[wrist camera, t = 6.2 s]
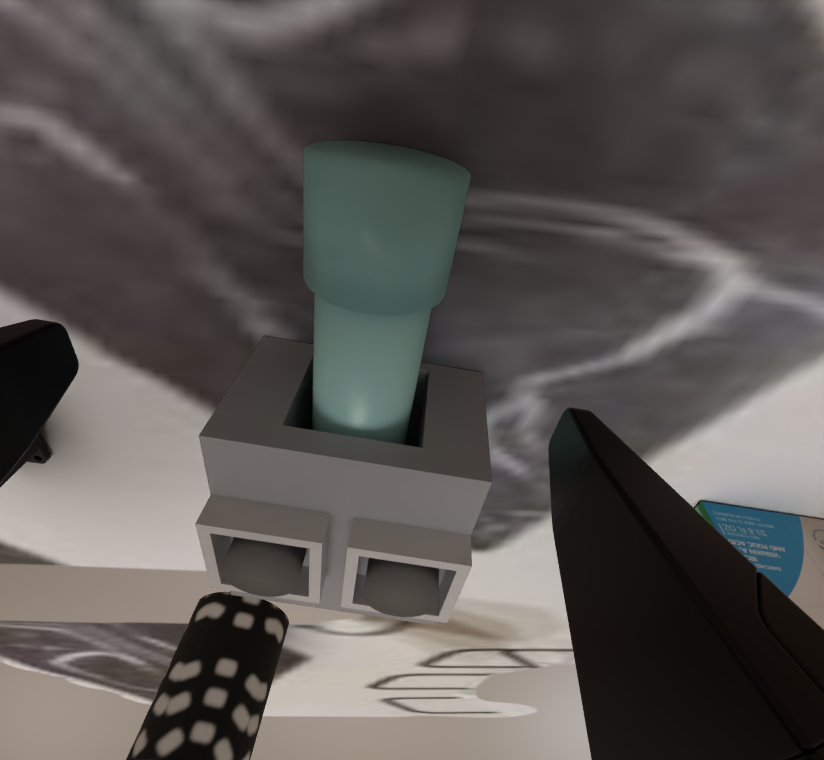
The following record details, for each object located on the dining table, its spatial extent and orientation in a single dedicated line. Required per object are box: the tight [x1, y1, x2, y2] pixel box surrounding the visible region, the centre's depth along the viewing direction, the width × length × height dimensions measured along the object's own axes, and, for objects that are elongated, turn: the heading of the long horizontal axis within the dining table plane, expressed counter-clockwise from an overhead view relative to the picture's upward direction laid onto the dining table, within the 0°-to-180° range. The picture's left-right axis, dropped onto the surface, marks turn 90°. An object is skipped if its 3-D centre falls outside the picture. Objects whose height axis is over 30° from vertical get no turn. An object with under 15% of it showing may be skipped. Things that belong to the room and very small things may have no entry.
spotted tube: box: [126, 592, 289, 760], centre depth 33 cm, size 8×8×20 cm
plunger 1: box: [220, 537, 306, 597], centre depth 19 cm, size 3×3×2 cm
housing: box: [195, 336, 492, 625], centre depth 22 cm, size 11×12×8 cm
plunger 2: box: [363, 558, 439, 617], centre depth 19 cm, size 3×3×2 cm
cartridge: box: [303, 140, 471, 445], centre depth 20 cm, size 20×5×5 cm, turn 171°
